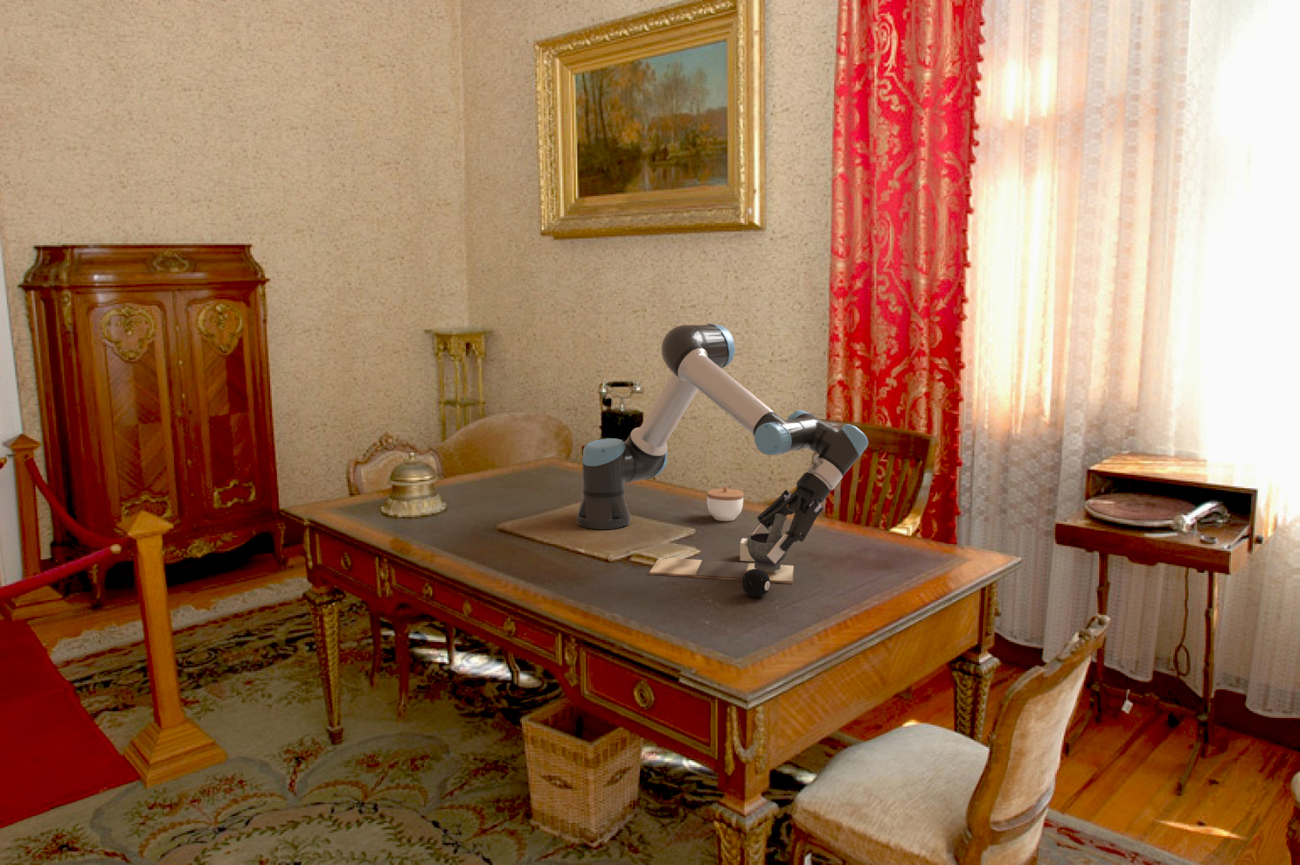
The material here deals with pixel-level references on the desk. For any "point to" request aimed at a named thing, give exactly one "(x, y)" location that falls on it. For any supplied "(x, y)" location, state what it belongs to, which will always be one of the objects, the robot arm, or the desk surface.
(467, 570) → the desk surface
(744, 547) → the cream white block
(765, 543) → the mortar and pestle
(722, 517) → the lidded jar
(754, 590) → the billiard ball
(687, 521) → the desk surface
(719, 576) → the board
